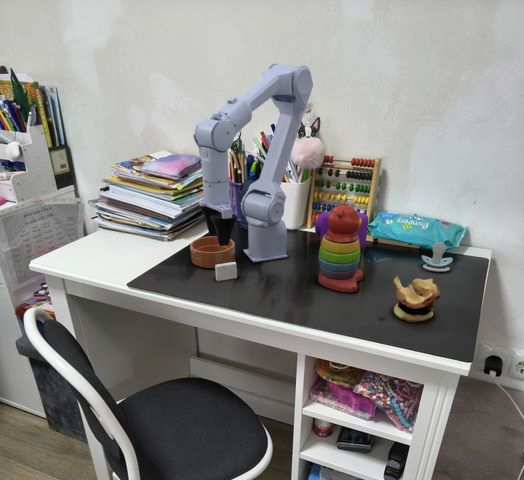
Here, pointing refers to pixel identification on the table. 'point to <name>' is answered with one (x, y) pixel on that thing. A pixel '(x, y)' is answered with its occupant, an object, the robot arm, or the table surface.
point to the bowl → (211, 252)
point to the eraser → (226, 271)
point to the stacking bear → (341, 251)
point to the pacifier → (437, 259)
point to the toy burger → (416, 298)
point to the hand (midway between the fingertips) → (218, 239)
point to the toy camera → (323, 227)
